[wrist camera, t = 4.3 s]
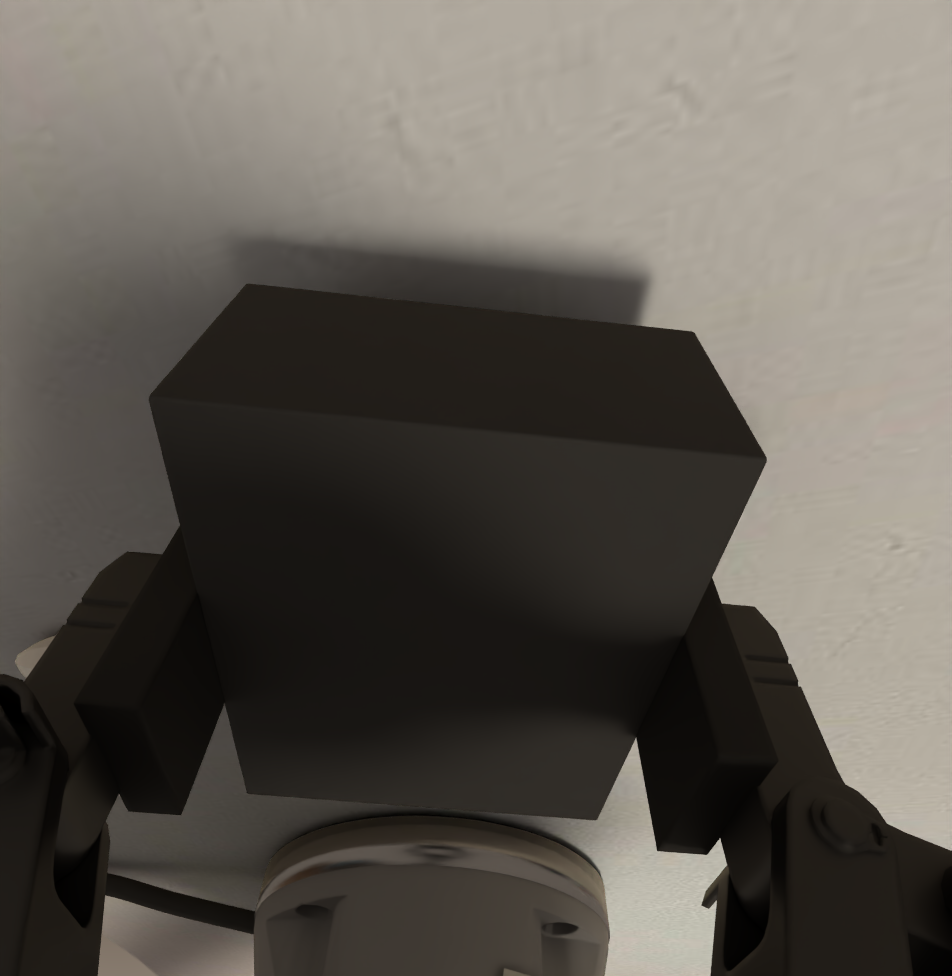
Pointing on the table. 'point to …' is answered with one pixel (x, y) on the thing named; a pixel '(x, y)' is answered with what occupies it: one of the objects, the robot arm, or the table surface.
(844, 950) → the robot arm
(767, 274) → the table surface
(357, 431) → the dark grey rectangular block
